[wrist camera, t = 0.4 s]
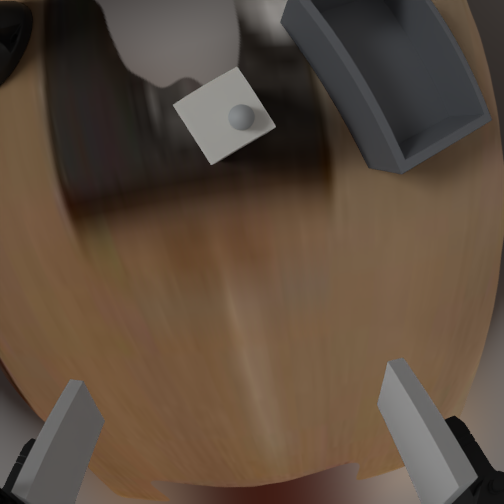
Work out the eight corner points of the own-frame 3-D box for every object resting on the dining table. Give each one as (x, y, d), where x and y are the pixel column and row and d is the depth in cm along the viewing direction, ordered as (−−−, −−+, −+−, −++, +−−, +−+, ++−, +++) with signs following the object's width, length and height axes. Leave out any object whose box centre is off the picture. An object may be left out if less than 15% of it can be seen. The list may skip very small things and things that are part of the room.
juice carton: (190, 116, 30) (170, 103, 21) (237, 88, 29) (236, 63, 20) (218, 161, 32) (210, 165, 23) (266, 133, 31) (277, 125, 22)
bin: (280, 22, 27) (290, -10, 19) (377, -10, 25) (404, -36, 17) (368, 168, 33) (401, 174, 25) (452, 121, 31) (491, 120, 23)
